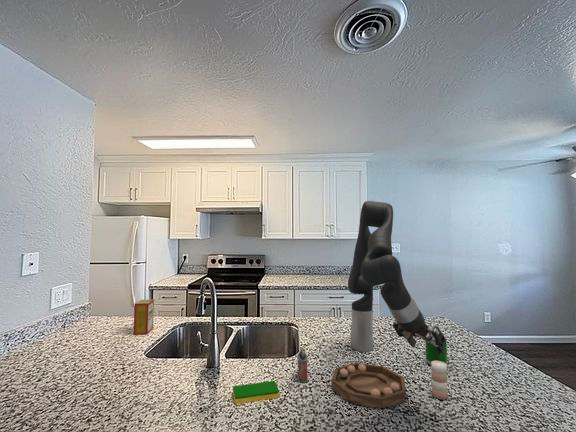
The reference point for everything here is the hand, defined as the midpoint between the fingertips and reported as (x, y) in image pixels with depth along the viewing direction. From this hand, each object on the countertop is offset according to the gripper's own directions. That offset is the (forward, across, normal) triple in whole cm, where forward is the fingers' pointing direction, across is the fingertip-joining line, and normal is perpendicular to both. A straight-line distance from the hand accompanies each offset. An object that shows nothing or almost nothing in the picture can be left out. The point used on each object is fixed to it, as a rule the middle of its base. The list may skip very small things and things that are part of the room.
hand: (427, 348), depth 92 cm
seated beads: (+7, +18, +16) cm, 24 cm away
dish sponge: (-14, +36, +40) cm, 56 cm away
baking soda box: (-27, +124, +48) cm, 136 cm away
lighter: (-2, +36, +25) cm, 44 cm away
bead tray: (+7, +18, +16) cm, 24 cm away
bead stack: (+17, +1, +5) cm, 18 cm away
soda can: (+31, +13, -12) cm, 36 cm away
